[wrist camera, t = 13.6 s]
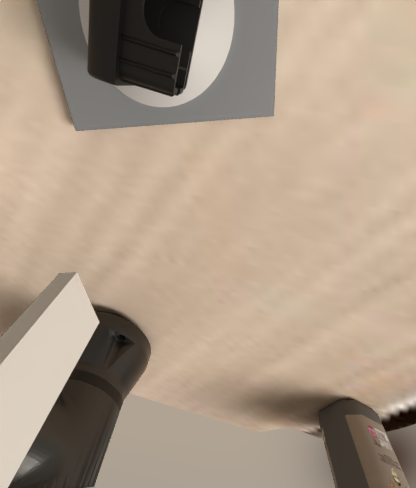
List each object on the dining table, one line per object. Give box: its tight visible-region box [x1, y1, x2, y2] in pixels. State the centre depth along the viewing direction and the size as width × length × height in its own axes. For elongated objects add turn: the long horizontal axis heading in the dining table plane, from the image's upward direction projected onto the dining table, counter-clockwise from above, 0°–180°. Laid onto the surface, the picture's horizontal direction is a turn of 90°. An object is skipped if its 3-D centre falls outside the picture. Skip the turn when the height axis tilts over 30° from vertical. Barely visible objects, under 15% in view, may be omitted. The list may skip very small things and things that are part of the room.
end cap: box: [87, 0, 203, 97], centre depth 20 cm, size 10×7×7 cm
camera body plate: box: [37, 0, 279, 131], centre depth 23 cm, size 20×16×2 cm
